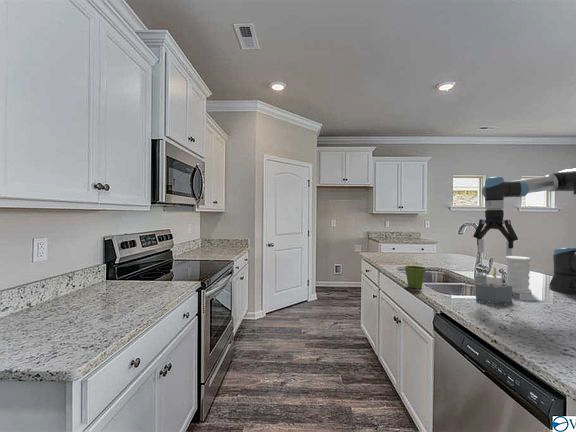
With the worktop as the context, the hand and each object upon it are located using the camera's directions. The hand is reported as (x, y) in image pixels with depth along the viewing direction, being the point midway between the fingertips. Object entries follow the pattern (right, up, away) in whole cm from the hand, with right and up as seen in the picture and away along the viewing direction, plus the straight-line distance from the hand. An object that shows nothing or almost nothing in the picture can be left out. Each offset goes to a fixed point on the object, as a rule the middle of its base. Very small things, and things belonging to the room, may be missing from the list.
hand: (494, 253), depth 154 cm
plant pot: (-27, -22, +27) cm, 44 cm away
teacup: (+9, -22, +18) cm, 30 cm away
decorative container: (+24, -22, +18) cm, 37 cm away
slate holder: (0, -22, 0) cm, 22 cm away
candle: (0, -22, 0) cm, 22 cm away
